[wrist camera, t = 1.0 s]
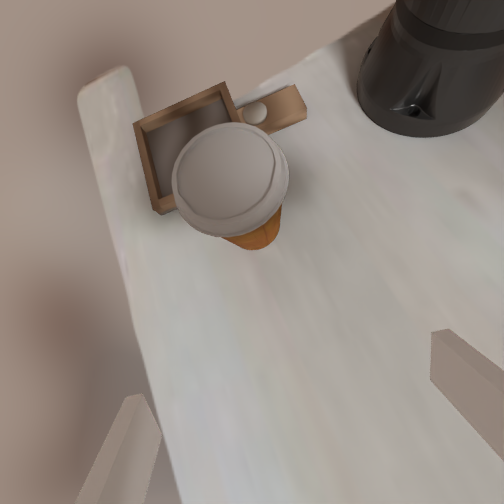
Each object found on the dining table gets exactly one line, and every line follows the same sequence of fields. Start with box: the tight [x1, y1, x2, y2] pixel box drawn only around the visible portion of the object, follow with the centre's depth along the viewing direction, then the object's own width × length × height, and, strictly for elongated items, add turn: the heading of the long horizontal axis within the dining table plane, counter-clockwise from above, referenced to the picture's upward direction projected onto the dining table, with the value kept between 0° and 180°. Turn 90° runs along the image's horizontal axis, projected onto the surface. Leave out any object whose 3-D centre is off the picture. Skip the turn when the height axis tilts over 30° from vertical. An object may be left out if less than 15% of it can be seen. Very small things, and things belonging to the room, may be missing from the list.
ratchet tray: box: [133, 81, 307, 215], centre depth 33 cm, size 22×14×2 cm, turn 109°
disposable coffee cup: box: [172, 122, 289, 250], centre depth 25 cm, size 10×10×12 cm
